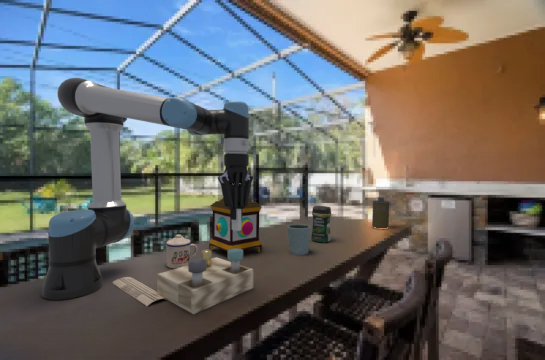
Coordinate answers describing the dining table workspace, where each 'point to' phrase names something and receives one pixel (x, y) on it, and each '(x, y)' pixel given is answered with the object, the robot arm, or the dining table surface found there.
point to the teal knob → (235, 259)
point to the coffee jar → (321, 224)
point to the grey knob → (197, 270)
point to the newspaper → (138, 290)
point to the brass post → (207, 257)
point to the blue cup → (298, 238)
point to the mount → (204, 285)
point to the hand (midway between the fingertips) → (236, 229)
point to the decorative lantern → (231, 238)
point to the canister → (380, 213)
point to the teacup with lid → (179, 252)
